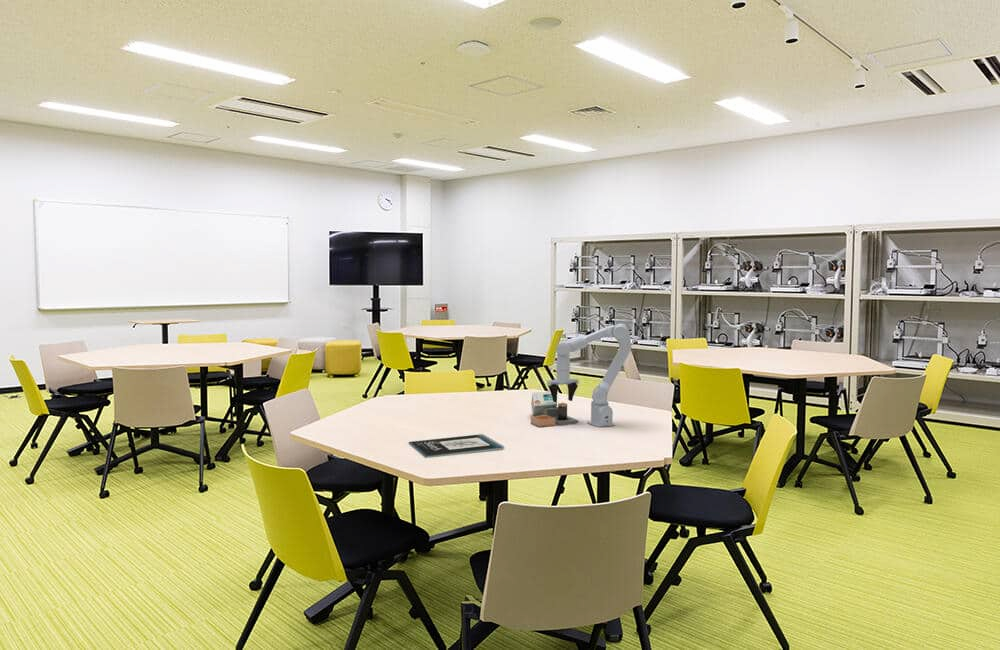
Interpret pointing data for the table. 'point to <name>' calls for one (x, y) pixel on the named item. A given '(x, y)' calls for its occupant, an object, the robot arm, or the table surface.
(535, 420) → the tray
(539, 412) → the light bulb box
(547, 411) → the grey rectangular holed block
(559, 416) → the battery cell
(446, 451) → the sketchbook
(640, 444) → the table surface
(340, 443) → the table surface
